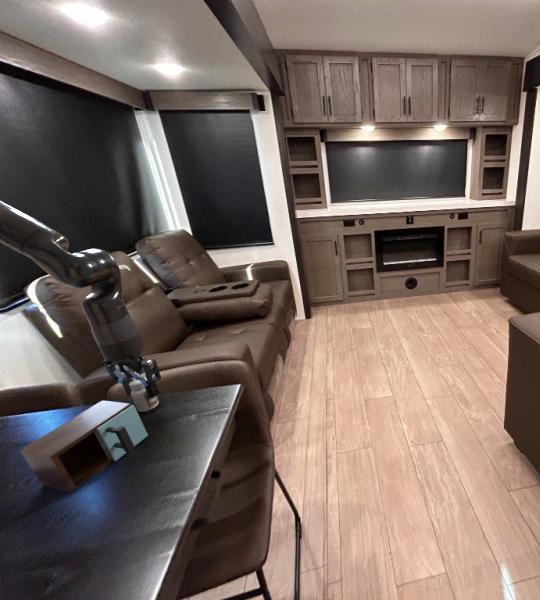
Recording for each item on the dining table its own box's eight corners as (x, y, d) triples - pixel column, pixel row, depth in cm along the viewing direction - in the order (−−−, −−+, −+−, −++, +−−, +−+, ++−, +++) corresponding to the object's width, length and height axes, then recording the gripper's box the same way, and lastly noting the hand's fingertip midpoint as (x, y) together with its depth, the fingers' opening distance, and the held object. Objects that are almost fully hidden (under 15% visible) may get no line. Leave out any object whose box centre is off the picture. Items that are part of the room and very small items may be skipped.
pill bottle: (156, 409, 80) (145, 383, 77) (135, 414, 79) (123, 388, 76) (161, 399, 84) (151, 374, 81) (141, 404, 82) (130, 379, 80)
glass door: (113, 460, 65) (96, 428, 62) (146, 435, 71) (131, 404, 68) (131, 464, 64) (114, 431, 61) (162, 437, 70) (148, 407, 67)
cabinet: (43, 486, 61) (19, 450, 57) (118, 431, 73) (102, 400, 70) (73, 493, 59) (50, 456, 56) (145, 436, 71) (130, 403, 68)
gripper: (156, 330, 76) (179, 388, 82) (111, 327, 79) (136, 383, 85) (124, 345, 69) (152, 407, 75) (76, 342, 72) (106, 402, 78)
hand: (143, 394), depth 80 cm, fingers open, 6 cm apart
